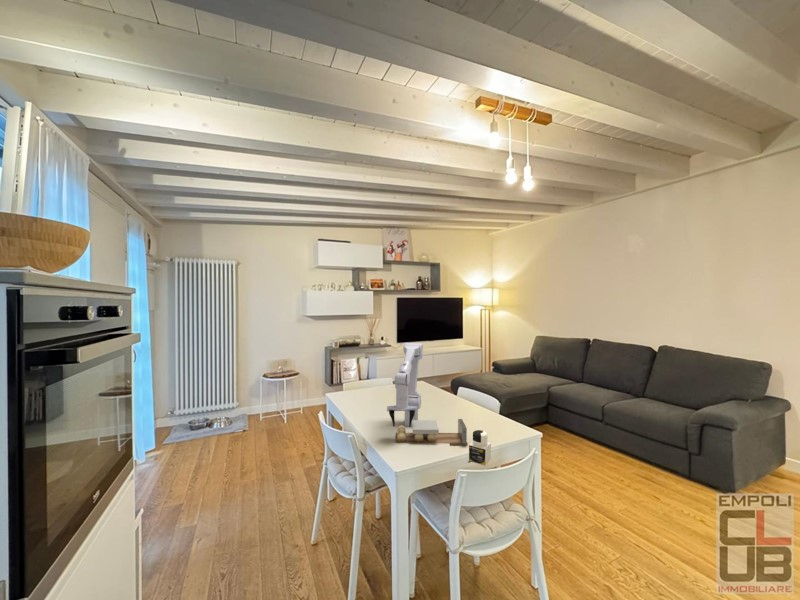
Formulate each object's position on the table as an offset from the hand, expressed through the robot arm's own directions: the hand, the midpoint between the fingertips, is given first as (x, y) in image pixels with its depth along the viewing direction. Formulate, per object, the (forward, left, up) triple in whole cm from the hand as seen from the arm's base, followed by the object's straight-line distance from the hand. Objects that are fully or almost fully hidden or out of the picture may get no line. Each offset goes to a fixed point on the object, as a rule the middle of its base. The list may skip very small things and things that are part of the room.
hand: (401, 425), depth 162 cm
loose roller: (0, 0, -6) cm, 6 cm away
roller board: (0, +14, -7) cm, 15 cm away
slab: (0, +11, -1) cm, 11 cm away
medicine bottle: (+20, +33, -7) cm, 39 cm away
